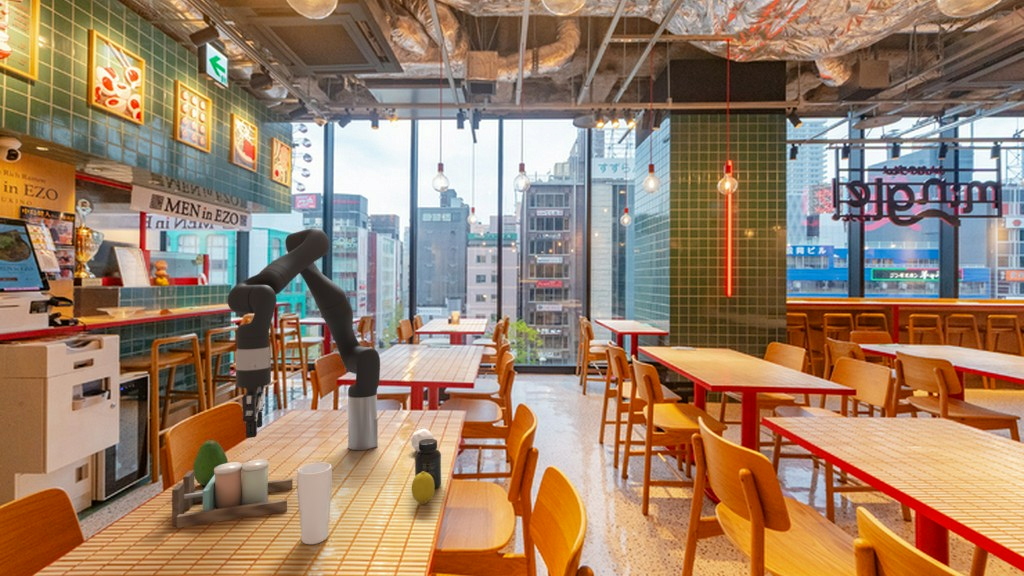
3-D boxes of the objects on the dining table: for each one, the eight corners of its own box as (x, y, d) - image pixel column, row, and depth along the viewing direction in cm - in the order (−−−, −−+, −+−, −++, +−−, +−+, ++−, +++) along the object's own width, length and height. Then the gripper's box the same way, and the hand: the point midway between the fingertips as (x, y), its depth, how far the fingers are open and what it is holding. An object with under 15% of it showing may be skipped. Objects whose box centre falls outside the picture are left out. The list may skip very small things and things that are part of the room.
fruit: (190, 493, 121) (190, 446, 121) (195, 482, 128) (195, 438, 128) (226, 487, 125) (226, 442, 125) (228, 476, 132) (228, 434, 132)
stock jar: (244, 499, 117) (244, 460, 117) (240, 510, 112) (239, 469, 112) (217, 504, 115) (217, 464, 115) (212, 514, 110) (211, 472, 110)
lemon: (438, 501, 116) (438, 468, 116) (427, 511, 111) (427, 477, 111) (419, 497, 118) (418, 466, 118) (407, 507, 113) (407, 474, 113)
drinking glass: (304, 531, 102) (303, 462, 102) (336, 529, 102) (336, 461, 102) (292, 548, 95) (292, 474, 95) (326, 546, 96) (326, 473, 96)
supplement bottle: (446, 483, 126) (445, 439, 126) (431, 493, 120) (431, 447, 120) (425, 479, 129) (424, 436, 129) (409, 489, 123) (409, 443, 123)
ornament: (410, 455, 148) (403, 431, 152) (422, 456, 154) (415, 433, 158) (429, 445, 147) (421, 421, 151) (440, 447, 153) (433, 424, 157)
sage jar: (269, 496, 119) (270, 458, 119) (266, 506, 113) (266, 466, 113) (243, 500, 117) (244, 460, 117) (239, 510, 111) (239, 469, 111)
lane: (292, 487, 125) (292, 457, 125) (286, 511, 111) (286, 477, 111) (190, 501, 117) (190, 468, 117) (170, 528, 103) (170, 492, 103)
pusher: (220, 498, 117) (220, 473, 117) (209, 518, 107) (208, 490, 107) (181, 503, 115) (181, 477, 115) (166, 524, 104) (166, 495, 104)
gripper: (266, 369, 110) (267, 438, 110) (274, 360, 123) (275, 422, 123) (229, 372, 107) (230, 443, 107) (241, 362, 120) (242, 425, 120)
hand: (254, 432), depth 115 cm, fingers open, 8 cm apart
